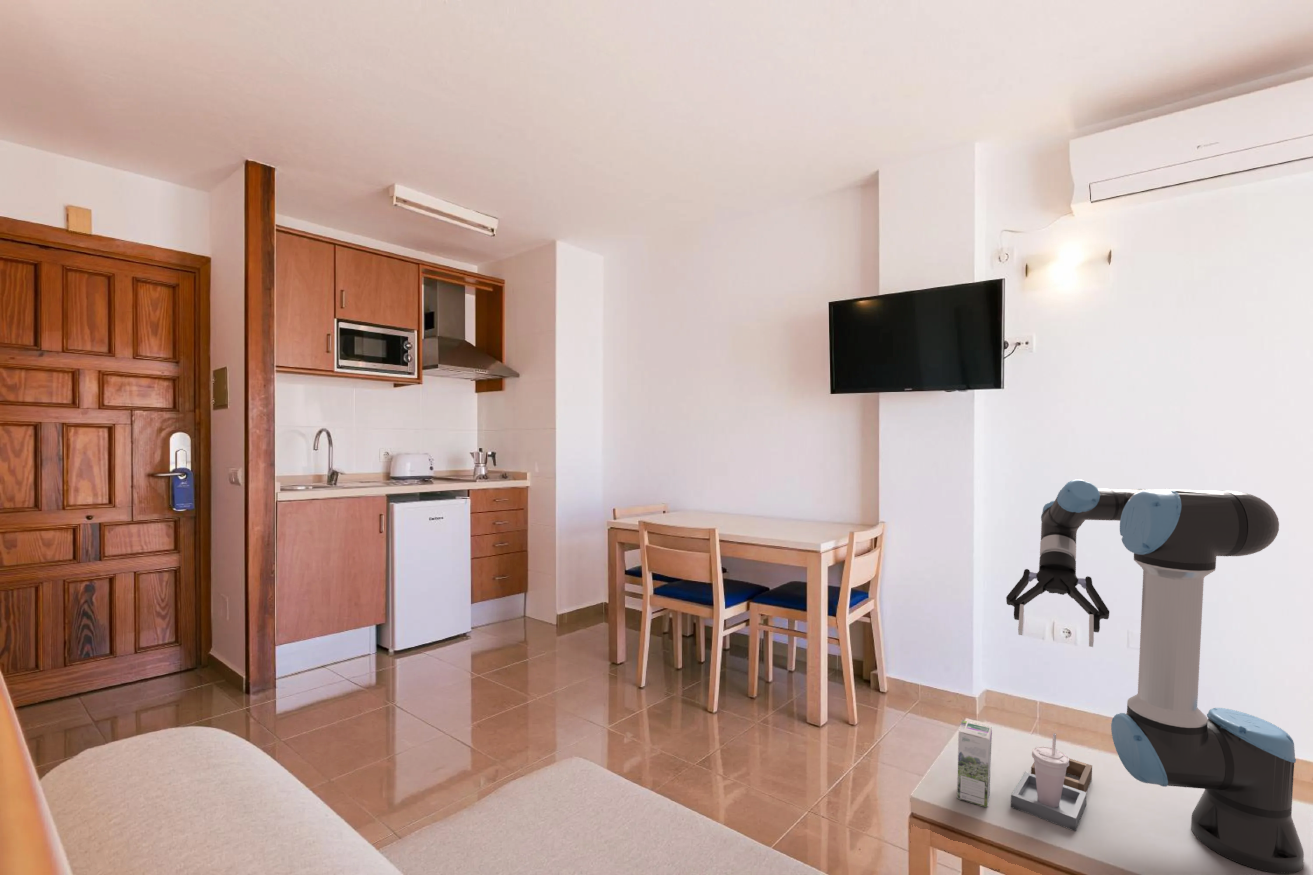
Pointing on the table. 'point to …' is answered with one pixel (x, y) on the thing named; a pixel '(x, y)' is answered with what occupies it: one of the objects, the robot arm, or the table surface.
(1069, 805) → the tray
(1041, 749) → the smoothie
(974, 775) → the syrup box
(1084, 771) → the collar
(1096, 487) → the robot arm
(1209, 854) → the table surface
